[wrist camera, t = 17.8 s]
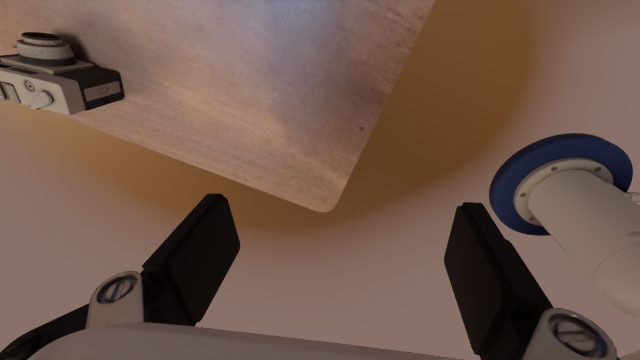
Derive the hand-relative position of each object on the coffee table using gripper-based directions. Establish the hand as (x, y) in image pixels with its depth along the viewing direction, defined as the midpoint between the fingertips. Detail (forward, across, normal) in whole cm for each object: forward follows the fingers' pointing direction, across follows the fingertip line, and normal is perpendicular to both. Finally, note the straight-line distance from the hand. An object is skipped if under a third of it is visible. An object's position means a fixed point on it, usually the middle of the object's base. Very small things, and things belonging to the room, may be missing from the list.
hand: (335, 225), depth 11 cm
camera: (+31, +43, -4) cm, 53 cm away
